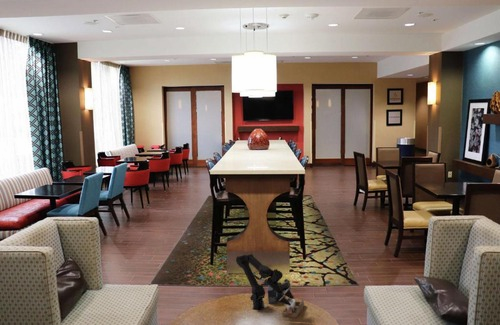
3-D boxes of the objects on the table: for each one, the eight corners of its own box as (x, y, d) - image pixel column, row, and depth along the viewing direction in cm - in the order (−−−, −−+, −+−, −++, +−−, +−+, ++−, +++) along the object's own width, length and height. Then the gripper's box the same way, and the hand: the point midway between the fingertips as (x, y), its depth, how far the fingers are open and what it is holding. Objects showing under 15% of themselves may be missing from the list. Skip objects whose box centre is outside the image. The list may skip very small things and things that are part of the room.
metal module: (287, 314, 289) (286, 301, 288) (289, 311, 293) (288, 298, 292) (294, 314, 287) (292, 301, 287) (295, 312, 291) (294, 298, 291)
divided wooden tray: (282, 317, 287) (281, 309, 287) (290, 305, 305) (289, 298, 305) (296, 318, 284) (296, 310, 283) (304, 306, 302) (303, 298, 301)
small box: (269, 299, 321) (267, 284, 320) (278, 298, 320) (276, 284, 319) (268, 304, 310) (267, 290, 310) (277, 304, 310) (276, 289, 309)
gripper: (278, 281, 281) (296, 299, 278) (286, 272, 299) (303, 288, 295) (267, 293, 285) (285, 311, 281) (276, 283, 302) (293, 299, 299)
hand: (292, 302), depth 289 cm, fingers open, 9 cm apart
